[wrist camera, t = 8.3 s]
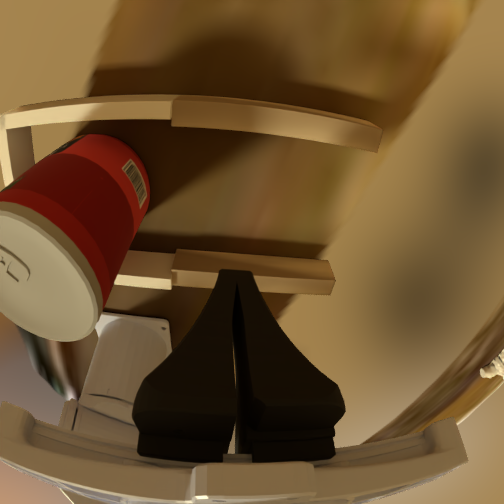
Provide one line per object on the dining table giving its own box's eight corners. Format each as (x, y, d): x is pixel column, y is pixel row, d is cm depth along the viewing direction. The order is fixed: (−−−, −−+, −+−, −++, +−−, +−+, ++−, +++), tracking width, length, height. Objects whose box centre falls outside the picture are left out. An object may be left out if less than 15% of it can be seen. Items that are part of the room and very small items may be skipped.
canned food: (76, 112, 16) (-36, 178, 8) (173, 164, 19) (122, 272, 10) (46, 199, 20) (-33, 294, 11) (129, 244, 23) (83, 361, 14)
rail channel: (323, 274, 25) (330, 295, 23) (177, 264, 24) (172, 285, 22) (367, 120, 18) (383, 130, 16) (180, 94, 17) (172, 100, 15)
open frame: (177, 264, 24) (171, 289, 22) (45, 252, 23) (30, 273, 20) (180, 94, 17) (170, 101, 14) (19, 106, 15) (-5, 116, 13)
